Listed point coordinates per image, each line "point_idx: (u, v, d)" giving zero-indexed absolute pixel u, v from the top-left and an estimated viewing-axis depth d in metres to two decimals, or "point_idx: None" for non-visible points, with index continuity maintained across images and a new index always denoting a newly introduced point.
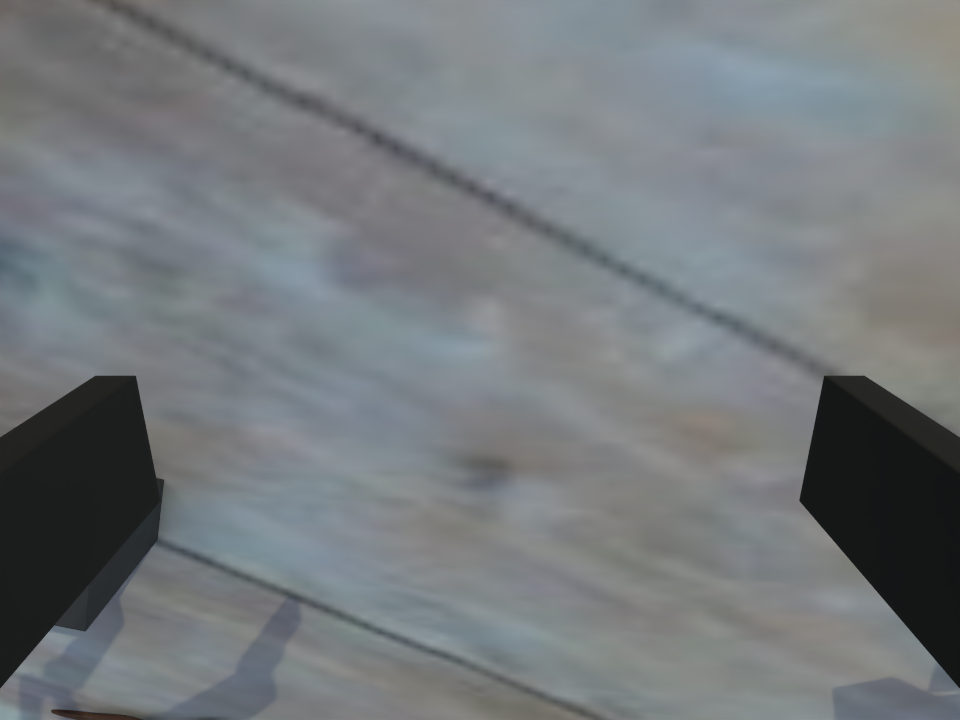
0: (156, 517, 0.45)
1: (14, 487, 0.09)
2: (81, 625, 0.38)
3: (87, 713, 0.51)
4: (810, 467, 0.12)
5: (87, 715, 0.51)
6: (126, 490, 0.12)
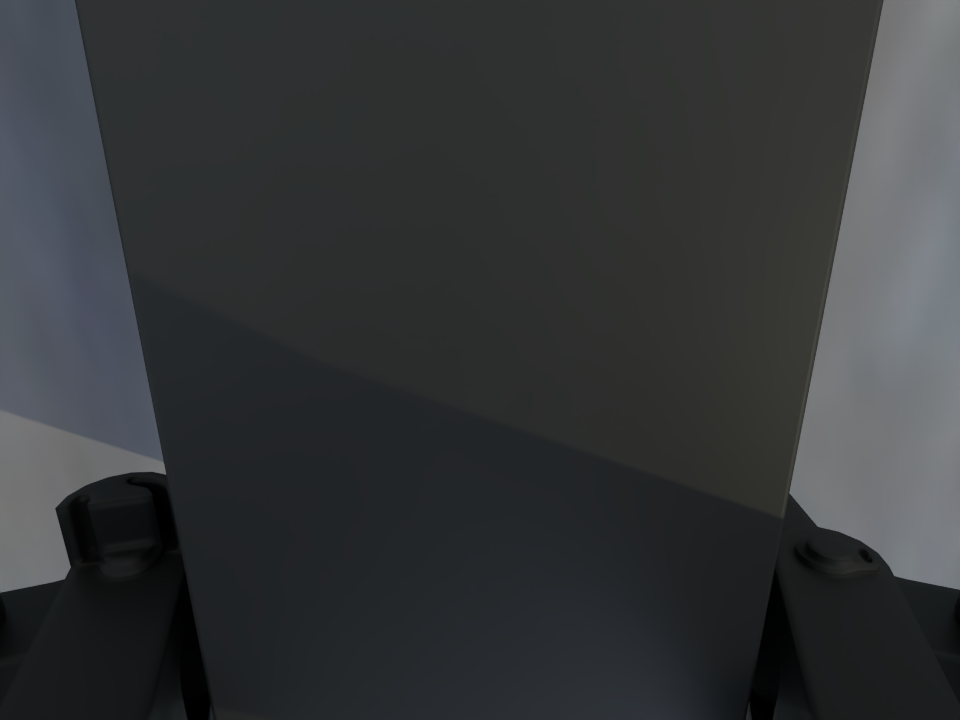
0: None
1: None
2: None
3: None
4: None
5: None
6: None
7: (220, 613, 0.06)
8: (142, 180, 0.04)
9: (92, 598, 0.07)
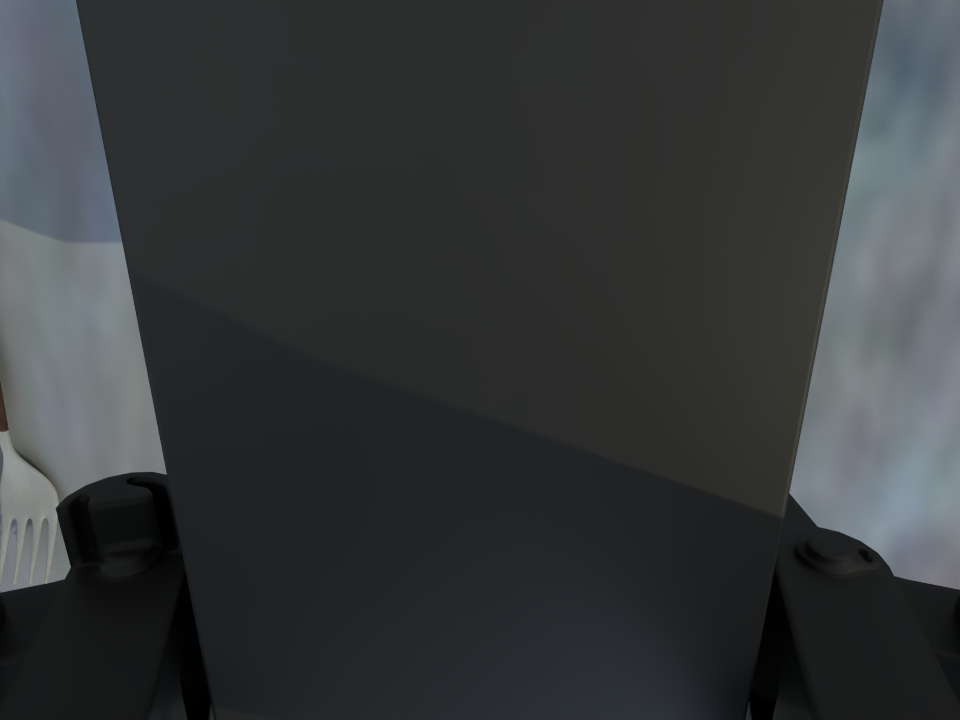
0: None
1: None
2: None
3: None
4: None
5: None
6: None
7: (220, 611, 0.06)
8: (142, 178, 0.04)
9: (92, 598, 0.07)
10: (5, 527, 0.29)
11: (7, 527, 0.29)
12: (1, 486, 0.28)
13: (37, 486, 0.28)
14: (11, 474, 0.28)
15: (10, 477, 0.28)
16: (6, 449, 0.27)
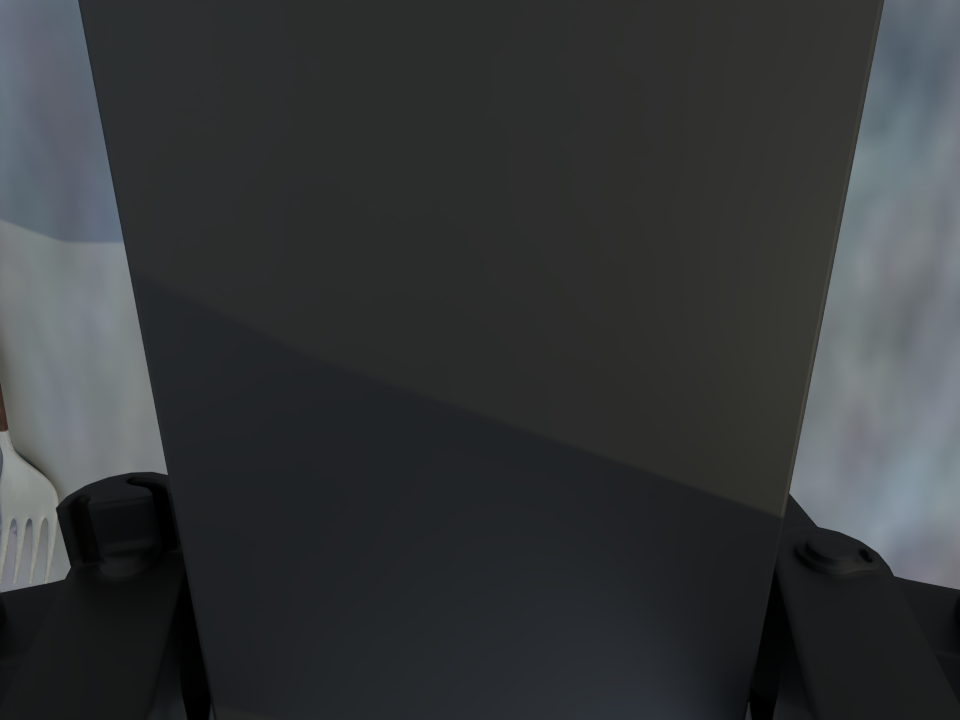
0: None
1: None
2: None
3: None
4: None
5: None
6: None
7: (220, 610, 0.06)
8: (144, 176, 0.04)
9: (92, 598, 0.06)
10: (5, 527, 0.29)
11: (7, 527, 0.29)
12: (1, 486, 0.28)
13: (37, 486, 0.28)
14: (11, 474, 0.28)
15: (10, 477, 0.28)
16: (6, 448, 0.27)
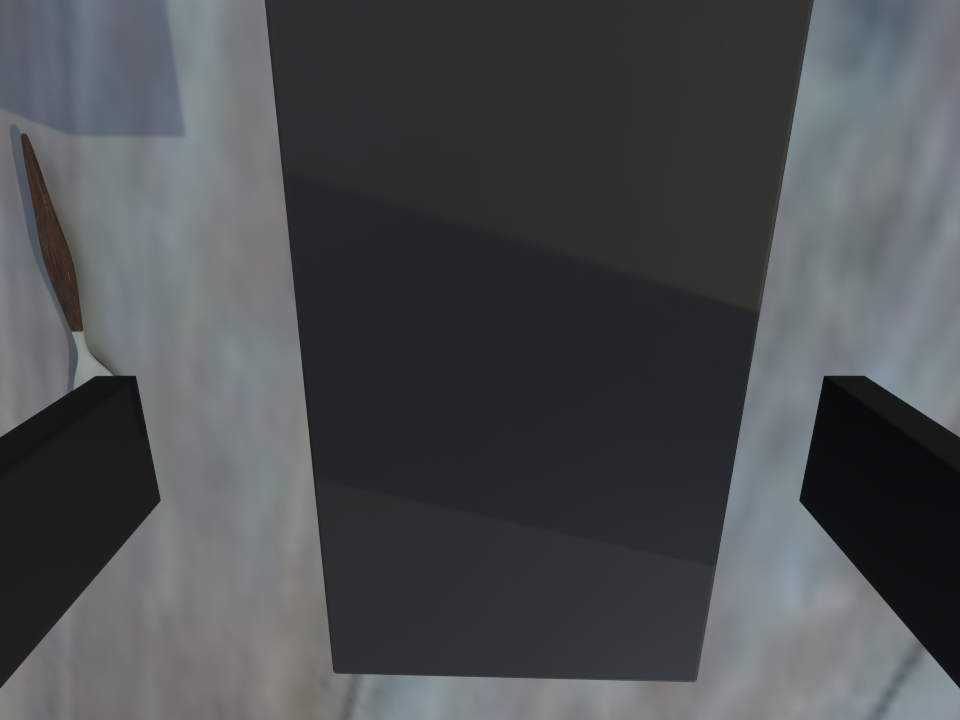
0: None
1: (14, 487, 0.09)
2: (361, 661, 0.09)
3: (48, 198, 0.29)
4: (810, 466, 0.12)
5: (46, 201, 0.29)
6: (126, 490, 0.12)
7: (318, 305, 0.07)
8: None
9: None
10: None
11: None
12: (74, 383, 0.32)
13: None
14: (84, 371, 0.32)
15: (83, 374, 0.32)
16: (81, 347, 0.31)
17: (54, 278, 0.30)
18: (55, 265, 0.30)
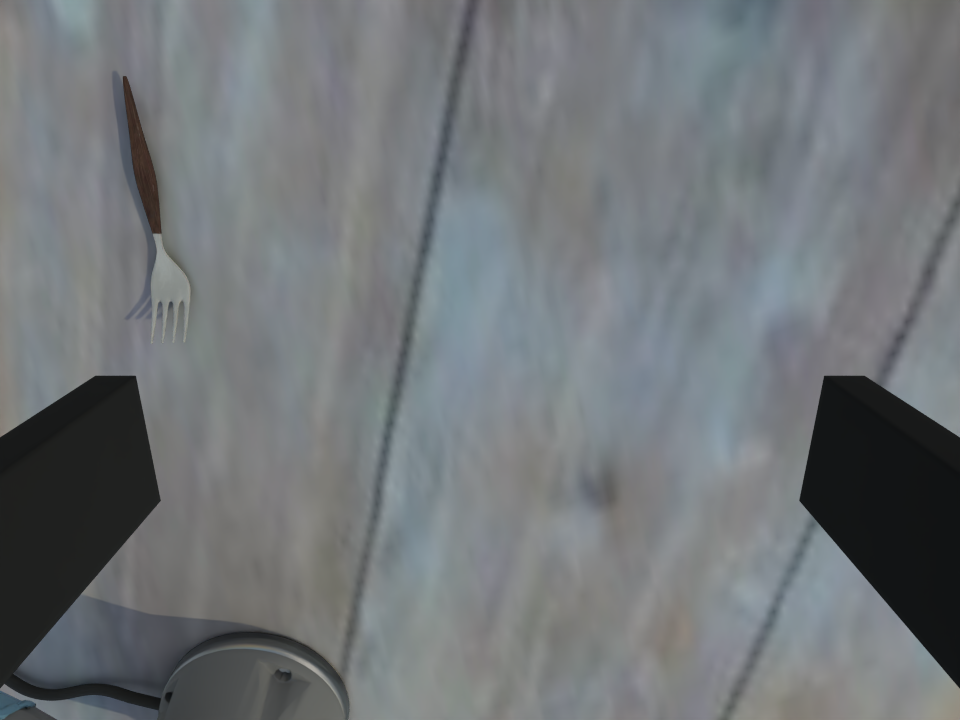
0: None
1: (14, 487, 0.09)
2: None
3: (140, 126, 0.38)
4: (810, 467, 0.12)
5: (139, 128, 0.38)
6: (126, 490, 0.12)
7: None
8: None
9: None
10: (154, 306, 0.42)
11: (155, 306, 0.42)
12: (152, 277, 0.42)
13: (177, 277, 0.41)
14: (160, 267, 0.41)
15: (159, 270, 0.41)
16: (159, 246, 0.40)
17: (142, 189, 0.39)
18: (143, 179, 0.39)
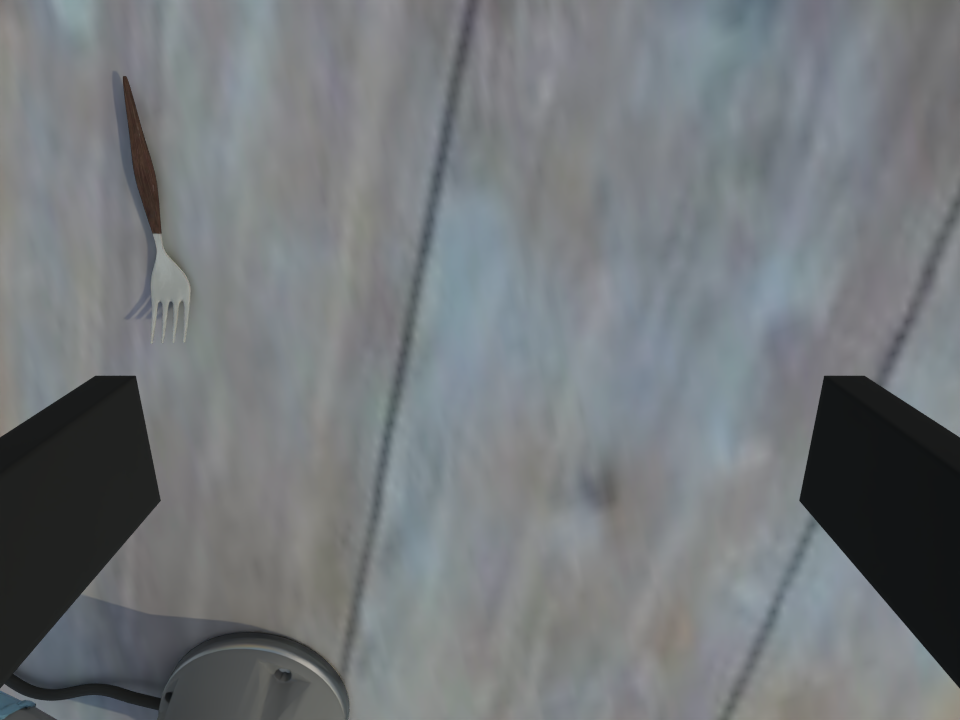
0: None
1: (14, 487, 0.09)
2: None
3: (140, 126, 0.38)
4: (810, 467, 0.12)
5: (139, 128, 0.38)
6: (126, 490, 0.12)
7: None
8: None
9: None
10: (154, 306, 0.42)
11: (155, 306, 0.42)
12: (152, 277, 0.42)
13: (177, 277, 0.41)
14: (160, 267, 0.41)
15: (159, 270, 0.41)
16: (159, 246, 0.40)
17: (142, 189, 0.39)
18: (143, 179, 0.39)
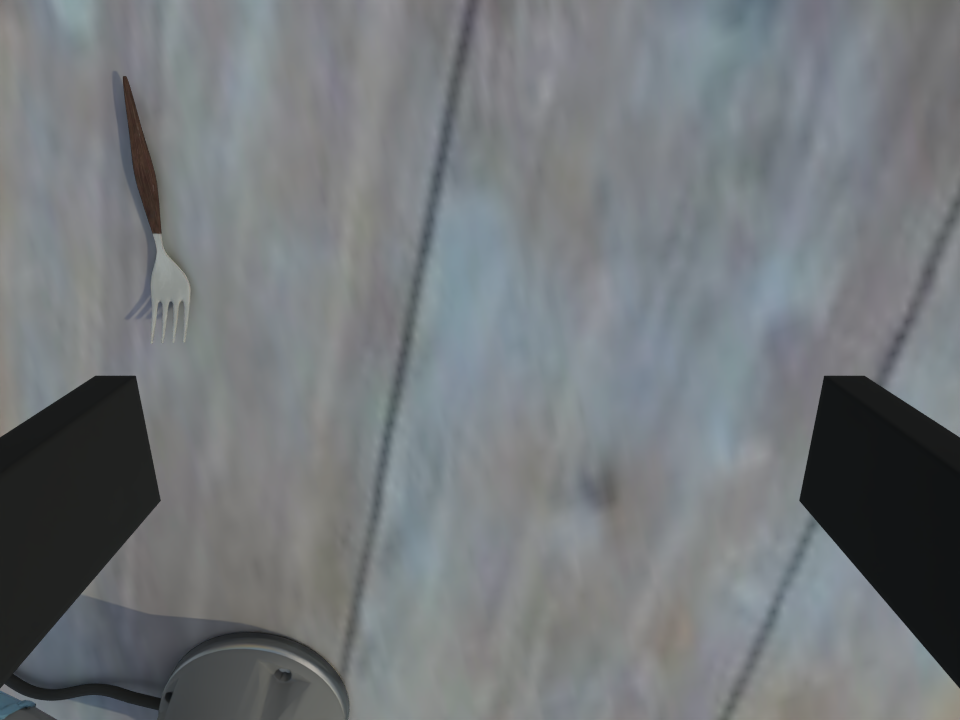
0: None
1: (14, 487, 0.09)
2: None
3: (140, 126, 0.38)
4: (810, 467, 0.12)
5: (139, 128, 0.38)
6: (126, 490, 0.12)
7: None
8: None
9: None
10: (154, 306, 0.42)
11: (155, 306, 0.42)
12: (152, 277, 0.42)
13: (177, 277, 0.41)
14: (160, 267, 0.41)
15: (159, 270, 0.41)
16: (159, 246, 0.40)
17: (142, 189, 0.39)
18: (143, 179, 0.39)
